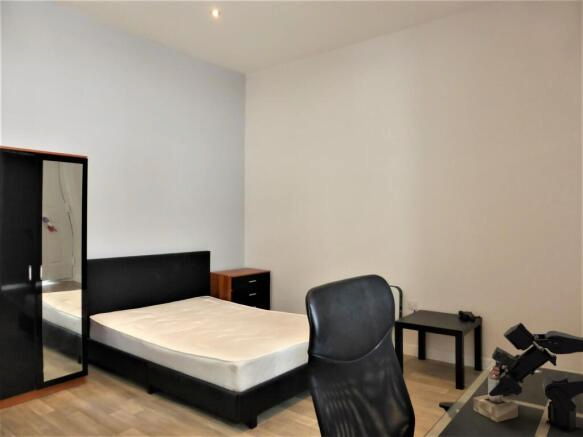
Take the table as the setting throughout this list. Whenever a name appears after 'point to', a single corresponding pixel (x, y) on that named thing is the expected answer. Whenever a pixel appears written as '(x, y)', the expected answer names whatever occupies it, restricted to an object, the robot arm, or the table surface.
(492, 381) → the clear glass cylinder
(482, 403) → the mount
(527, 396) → the table surface
